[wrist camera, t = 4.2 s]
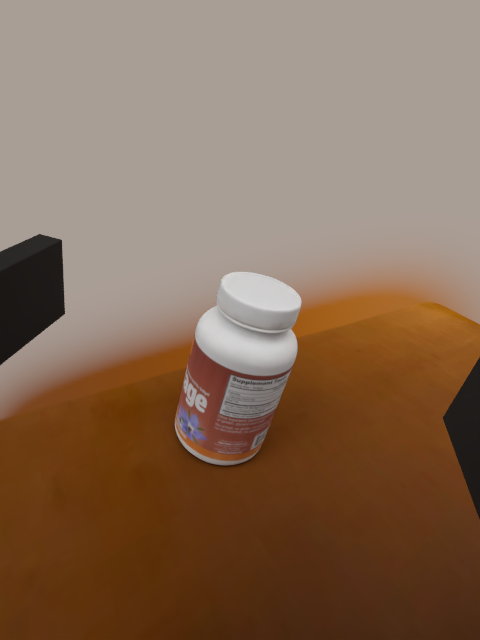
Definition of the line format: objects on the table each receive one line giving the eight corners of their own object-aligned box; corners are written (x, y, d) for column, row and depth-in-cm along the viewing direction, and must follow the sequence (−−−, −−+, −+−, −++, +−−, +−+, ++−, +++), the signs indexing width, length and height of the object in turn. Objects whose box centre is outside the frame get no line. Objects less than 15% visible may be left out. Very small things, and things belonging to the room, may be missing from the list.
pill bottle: (170, 399, 29) (201, 258, 24) (250, 404, 31) (294, 273, 26) (175, 469, 24) (216, 308, 19) (271, 470, 25) (332, 323, 20)
